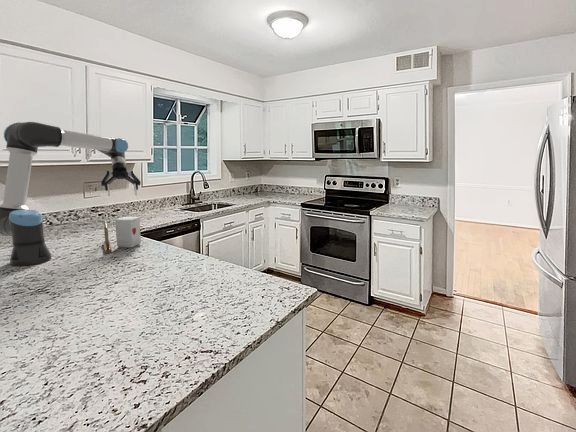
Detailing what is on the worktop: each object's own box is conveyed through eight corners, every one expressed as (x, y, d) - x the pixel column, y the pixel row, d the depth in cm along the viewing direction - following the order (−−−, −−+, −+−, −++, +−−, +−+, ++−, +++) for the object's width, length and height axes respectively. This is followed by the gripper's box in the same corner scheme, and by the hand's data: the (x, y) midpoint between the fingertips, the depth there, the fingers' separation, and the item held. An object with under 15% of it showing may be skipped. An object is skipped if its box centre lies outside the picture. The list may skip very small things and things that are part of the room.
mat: (119, 249, 178) (119, 247, 177) (118, 244, 186) (118, 243, 186) (140, 246, 183) (140, 245, 182) (138, 242, 191) (137, 241, 191)
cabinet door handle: (105, 253, 169) (102, 224, 167) (103, 244, 188) (101, 218, 185) (111, 252, 170) (109, 224, 168) (109, 243, 189) (107, 217, 187)
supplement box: (132, 247, 178) (130, 219, 176) (116, 247, 179) (114, 219, 177) (141, 243, 187) (139, 216, 185) (126, 242, 188) (124, 216, 186)
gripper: (141, 170, 208) (146, 197, 198) (95, 170, 196) (97, 199, 185) (142, 161, 202) (147, 189, 192) (94, 161, 190) (96, 190, 180)
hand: (122, 194), depth 189 cm, fingers open, 13 cm apart
